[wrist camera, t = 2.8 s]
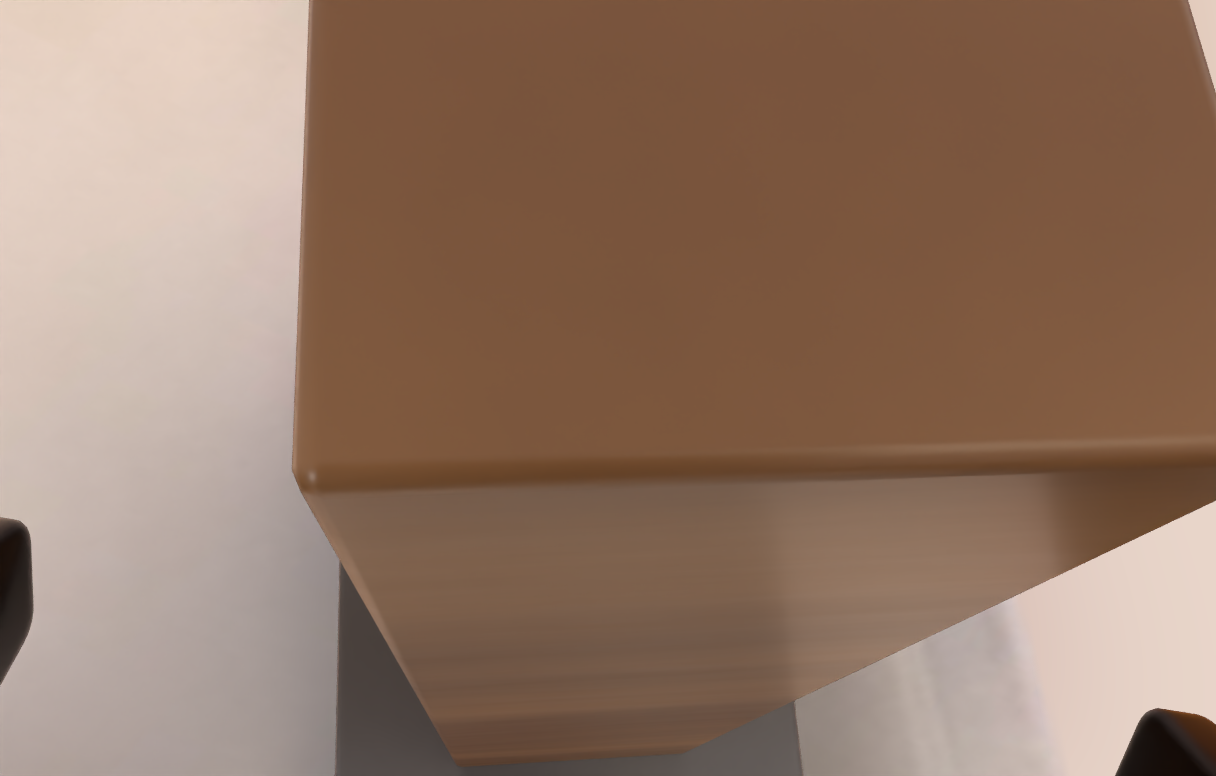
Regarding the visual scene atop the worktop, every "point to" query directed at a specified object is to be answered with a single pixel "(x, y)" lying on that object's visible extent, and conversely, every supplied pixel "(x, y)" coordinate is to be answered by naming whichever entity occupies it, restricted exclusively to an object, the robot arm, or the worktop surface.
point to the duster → (729, 351)
